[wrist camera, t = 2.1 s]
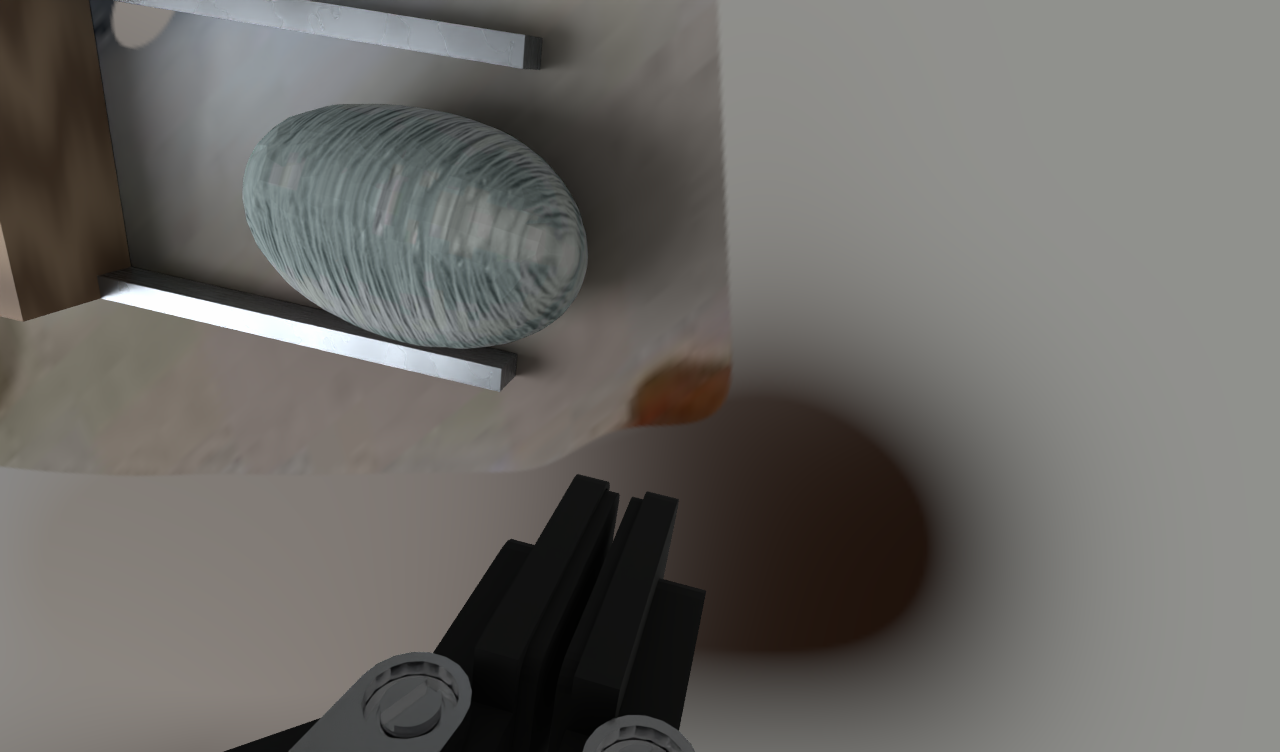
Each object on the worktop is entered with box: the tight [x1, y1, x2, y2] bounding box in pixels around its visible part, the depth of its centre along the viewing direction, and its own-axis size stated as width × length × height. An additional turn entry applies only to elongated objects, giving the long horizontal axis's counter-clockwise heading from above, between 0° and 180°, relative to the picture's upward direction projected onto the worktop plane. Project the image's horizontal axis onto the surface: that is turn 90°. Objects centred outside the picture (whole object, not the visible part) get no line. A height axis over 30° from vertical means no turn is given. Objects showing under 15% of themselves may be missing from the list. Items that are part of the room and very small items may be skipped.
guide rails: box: [97, 0, 542, 392], centre depth 32 cm, size 15×22×2 cm
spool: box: [243, 104, 588, 349], centre depth 29 cm, size 14×10×10 cm
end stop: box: [0, 0, 131, 322], centre depth 32 cm, size 15×4×6 cm, turn 171°
